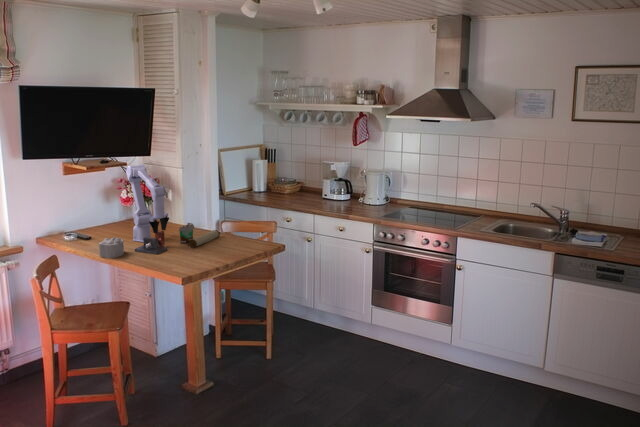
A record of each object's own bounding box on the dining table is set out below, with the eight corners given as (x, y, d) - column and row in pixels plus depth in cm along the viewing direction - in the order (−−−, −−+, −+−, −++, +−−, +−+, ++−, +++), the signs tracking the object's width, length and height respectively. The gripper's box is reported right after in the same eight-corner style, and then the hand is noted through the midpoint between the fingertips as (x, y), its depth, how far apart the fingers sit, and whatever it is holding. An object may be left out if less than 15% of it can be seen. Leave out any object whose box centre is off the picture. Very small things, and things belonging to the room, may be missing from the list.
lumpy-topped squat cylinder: (96, 256, 317) (95, 240, 315) (113, 250, 329) (112, 234, 327) (112, 258, 314) (112, 243, 312) (128, 252, 326) (128, 237, 324)
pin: (158, 244, 339) (158, 230, 337) (164, 244, 338) (164, 231, 336) (144, 250, 327) (143, 235, 325) (150, 250, 326) (149, 236, 324)
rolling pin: (192, 250, 333) (192, 241, 332) (184, 248, 335) (184, 240, 334) (223, 236, 362) (223, 228, 361) (215, 235, 364) (215, 227, 363)
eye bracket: (145, 246, 337) (145, 234, 335) (167, 249, 332) (166, 237, 330) (134, 251, 327) (134, 239, 326) (156, 254, 323) (156, 242, 321)
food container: (189, 245, 342) (189, 228, 340) (179, 244, 343) (179, 227, 341) (198, 239, 354) (197, 223, 352) (188, 238, 355) (187, 222, 353)
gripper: (157, 211, 324) (158, 235, 327) (172, 206, 338) (173, 229, 341) (146, 209, 327) (147, 233, 330) (161, 204, 340) (162, 228, 343)
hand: (159, 231), depth 335 cm, fingers open, 7 cm apart
